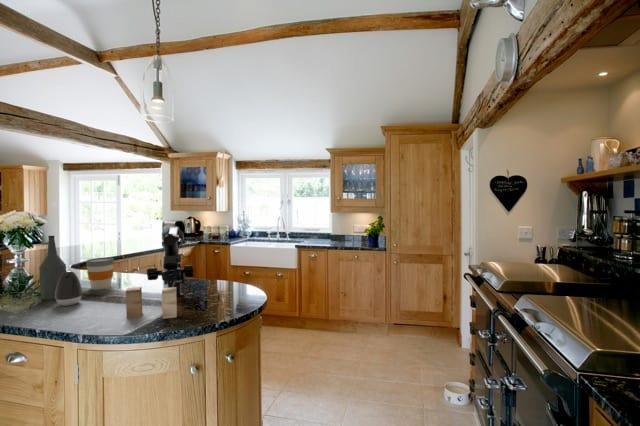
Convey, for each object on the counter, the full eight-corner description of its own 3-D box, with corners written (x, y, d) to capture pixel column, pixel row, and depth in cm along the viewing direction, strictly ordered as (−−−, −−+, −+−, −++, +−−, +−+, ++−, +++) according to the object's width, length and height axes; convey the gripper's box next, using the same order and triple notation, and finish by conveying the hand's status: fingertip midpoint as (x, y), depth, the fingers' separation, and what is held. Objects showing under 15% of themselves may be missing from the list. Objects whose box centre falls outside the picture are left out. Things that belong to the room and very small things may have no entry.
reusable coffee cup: (115, 287, 189) (114, 259, 188) (87, 291, 182) (86, 262, 181) (113, 283, 199) (112, 256, 199) (87, 286, 192) (85, 259, 192)
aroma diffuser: (53, 309, 154) (51, 274, 153) (57, 302, 163) (56, 270, 163) (81, 305, 159) (79, 271, 158) (84, 299, 168) (82, 267, 167)
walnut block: (128, 314, 146) (127, 287, 146) (142, 312, 148) (141, 286, 148) (126, 318, 142) (125, 290, 141) (140, 316, 143) (139, 289, 143)
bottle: (43, 301, 165) (39, 237, 164) (38, 297, 172) (35, 235, 171) (69, 296, 173) (66, 235, 172) (64, 293, 180) (61, 233, 178)
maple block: (163, 314, 145) (163, 288, 145) (177, 313, 147) (176, 286, 146) (162, 318, 141) (161, 291, 140) (176, 317, 142) (175, 289, 142)
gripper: (146, 249, 152) (143, 280, 142) (193, 247, 158) (193, 276, 148) (149, 264, 159) (147, 295, 150) (193, 261, 166) (194, 291, 156)
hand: (170, 289), depth 150 cm, fingers closed
